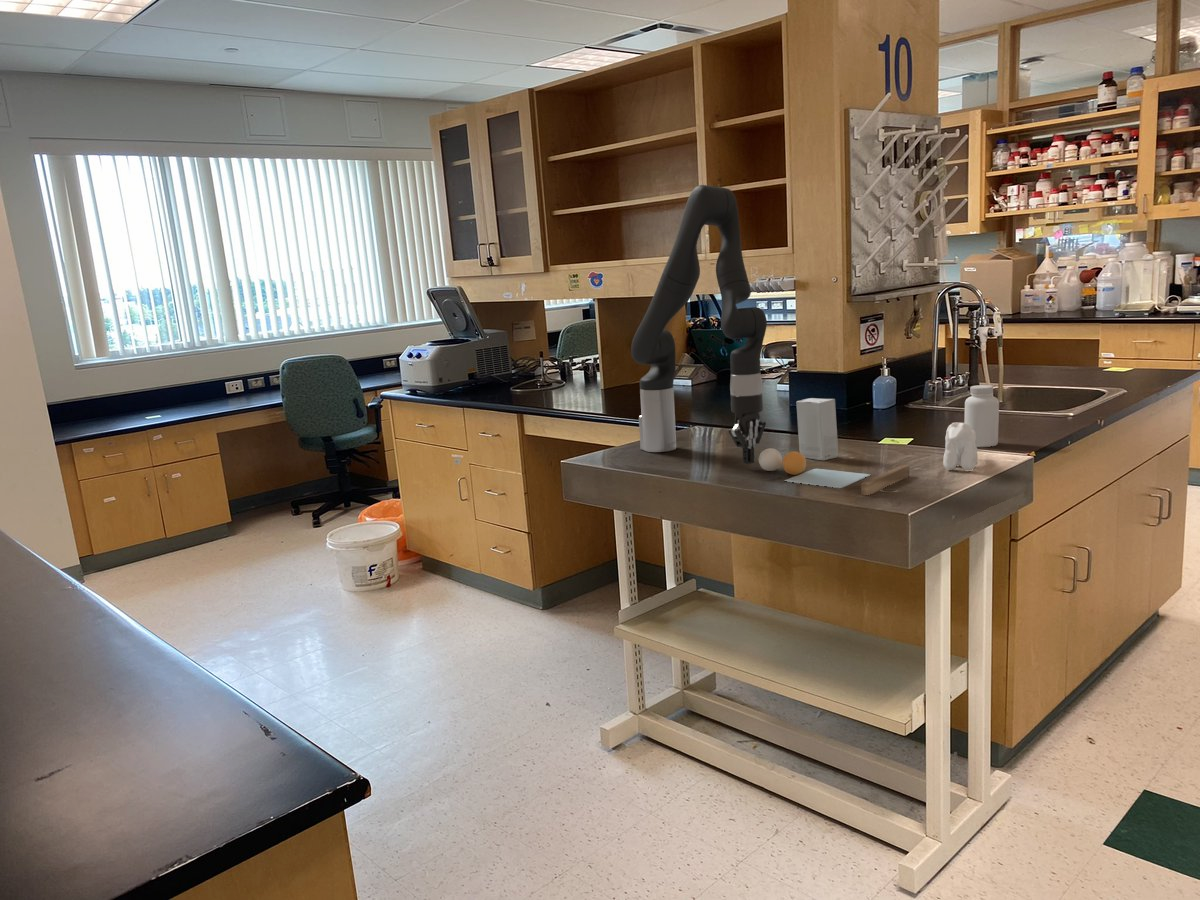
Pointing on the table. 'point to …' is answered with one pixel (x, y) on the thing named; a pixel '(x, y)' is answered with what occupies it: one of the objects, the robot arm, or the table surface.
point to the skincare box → (817, 428)
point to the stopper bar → (884, 480)
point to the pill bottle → (983, 415)
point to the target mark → (828, 478)
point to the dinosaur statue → (960, 447)
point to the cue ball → (770, 459)
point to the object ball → (794, 463)
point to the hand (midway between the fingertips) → (748, 463)
